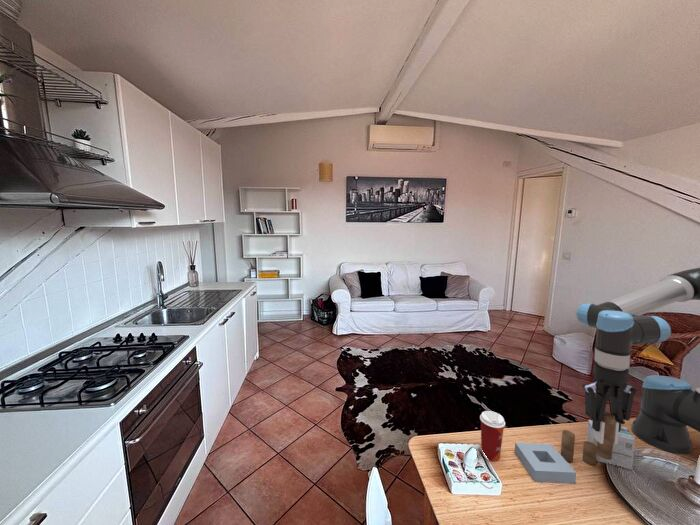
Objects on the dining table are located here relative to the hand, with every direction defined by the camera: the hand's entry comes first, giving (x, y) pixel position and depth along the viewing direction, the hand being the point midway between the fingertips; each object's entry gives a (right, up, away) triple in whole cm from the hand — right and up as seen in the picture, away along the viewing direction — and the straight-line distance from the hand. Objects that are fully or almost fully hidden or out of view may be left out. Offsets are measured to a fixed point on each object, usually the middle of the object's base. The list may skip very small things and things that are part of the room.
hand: (605, 440), depth 86 cm
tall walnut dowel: (0, -5, 0) cm, 5 cm away
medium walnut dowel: (-3, -13, +11) cm, 18 cm away
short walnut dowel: (+3, -13, +10) cm, 17 cm away
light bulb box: (+11, -13, +12) cm, 21 cm away
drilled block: (-13, -13, +8) cm, 20 cm away
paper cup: (-28, -13, +13) cm, 33 cm away
